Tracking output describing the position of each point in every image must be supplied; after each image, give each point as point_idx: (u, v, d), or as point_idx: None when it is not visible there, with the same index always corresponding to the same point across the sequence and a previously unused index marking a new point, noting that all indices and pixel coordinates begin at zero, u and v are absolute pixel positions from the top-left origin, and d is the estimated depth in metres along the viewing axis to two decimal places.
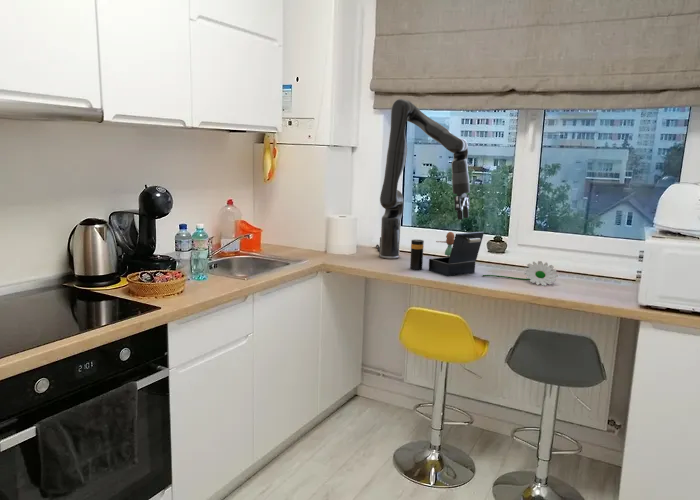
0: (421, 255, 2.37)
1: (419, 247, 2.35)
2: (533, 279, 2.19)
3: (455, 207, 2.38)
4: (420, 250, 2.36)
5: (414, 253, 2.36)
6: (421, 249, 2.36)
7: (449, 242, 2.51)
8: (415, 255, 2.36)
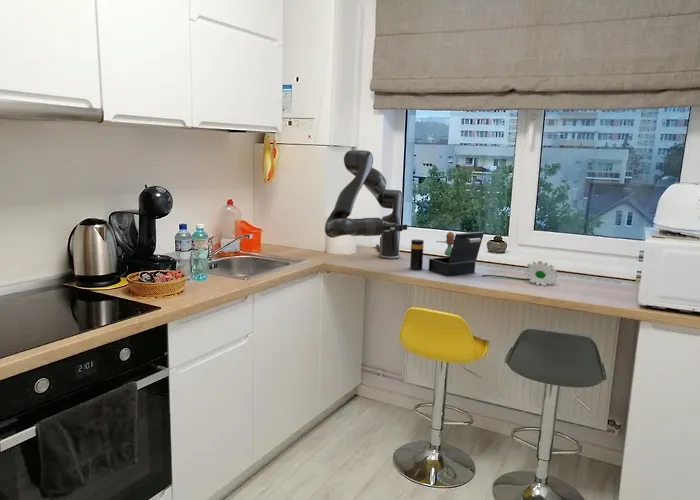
0: (421, 255, 2.37)
1: (419, 247, 2.35)
2: (533, 279, 2.19)
3: None
4: (420, 250, 2.36)
5: (414, 253, 2.36)
6: (421, 249, 2.36)
7: (449, 242, 2.51)
8: (415, 255, 2.36)
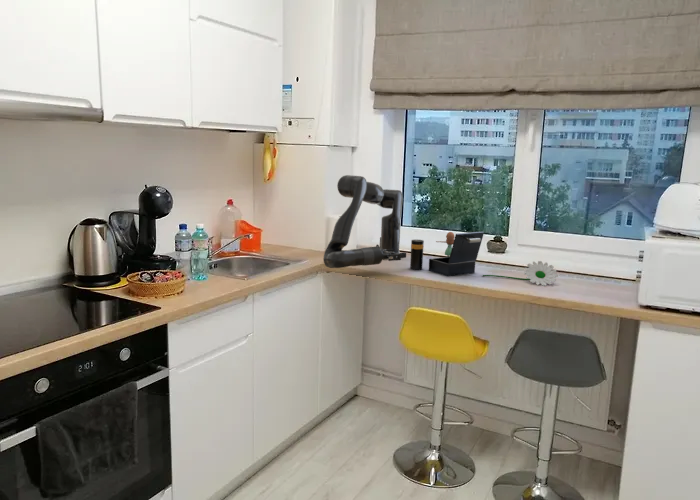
0: (421, 255, 2.37)
1: (419, 247, 2.35)
2: (533, 279, 2.19)
3: None
4: (420, 250, 2.36)
5: (414, 253, 2.36)
6: (421, 249, 2.36)
7: (449, 242, 2.51)
8: (415, 255, 2.36)
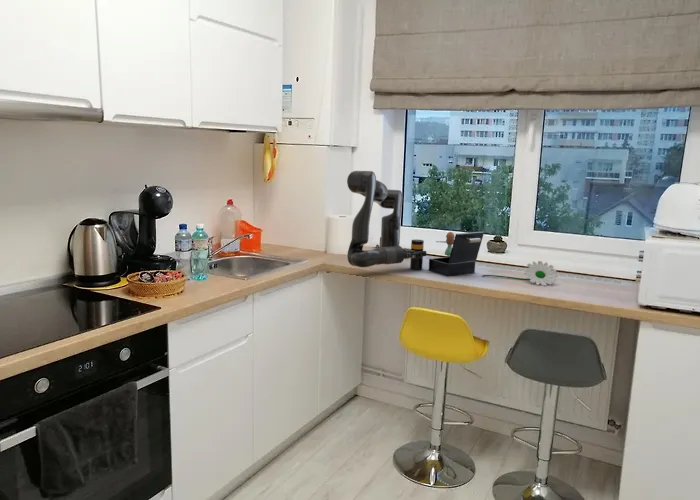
0: None
1: (419, 247, 2.35)
2: (533, 279, 2.19)
3: (403, 248, 2.42)
4: (421, 250, 2.36)
5: None
6: (421, 249, 2.36)
7: (449, 242, 2.51)
8: None
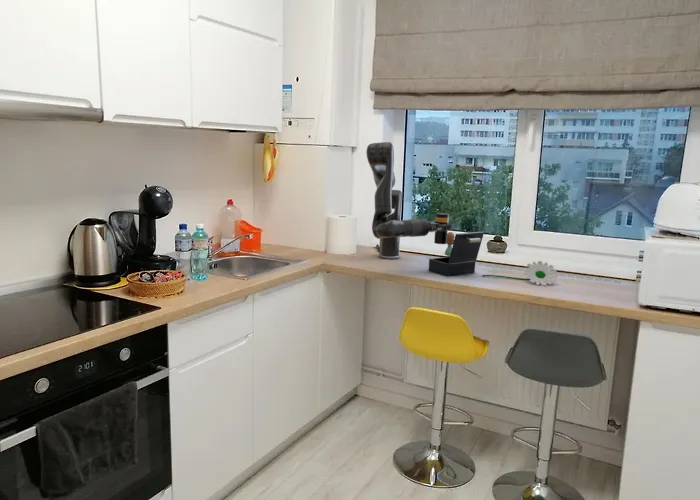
0: None
1: (444, 220, 2.31)
2: (533, 279, 2.19)
3: None
4: (445, 223, 2.32)
5: None
6: (446, 222, 2.32)
7: (449, 242, 2.51)
8: None
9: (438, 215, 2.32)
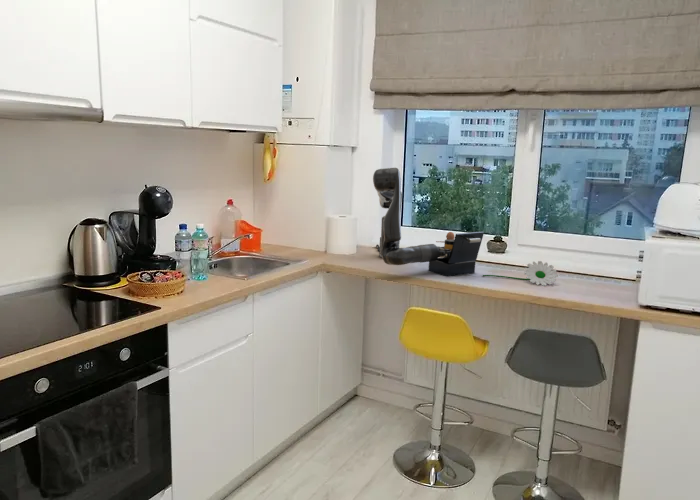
0: None
1: None
2: (533, 279, 2.19)
3: None
4: None
5: None
6: None
7: None
8: None
9: (447, 242, 2.33)
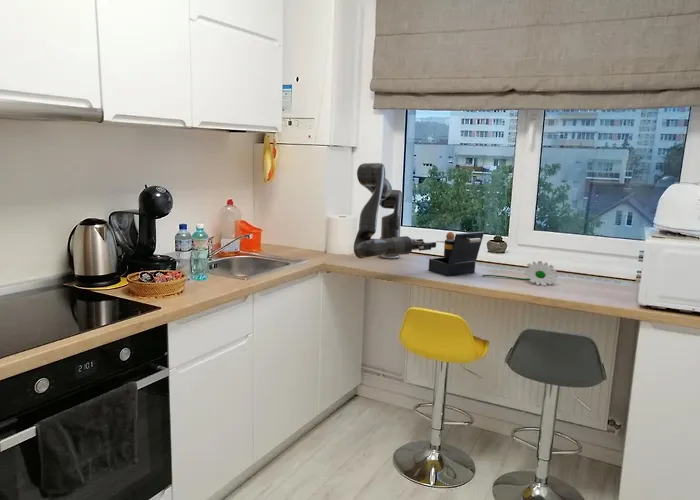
0: None
1: None
2: (533, 279, 2.19)
3: None
4: None
5: (447, 253, 2.34)
6: None
7: None
8: (449, 255, 2.34)
9: (447, 242, 2.33)
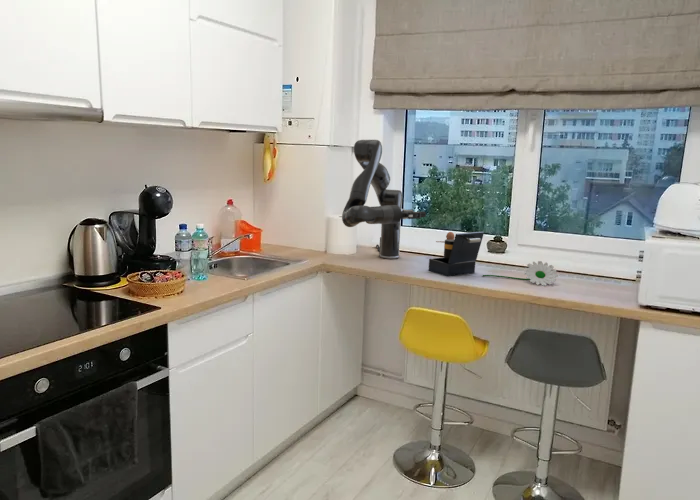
0: None
1: None
2: (533, 279, 2.19)
3: None
4: None
5: (447, 253, 2.34)
6: None
7: None
8: (449, 255, 2.34)
9: (447, 242, 2.33)
